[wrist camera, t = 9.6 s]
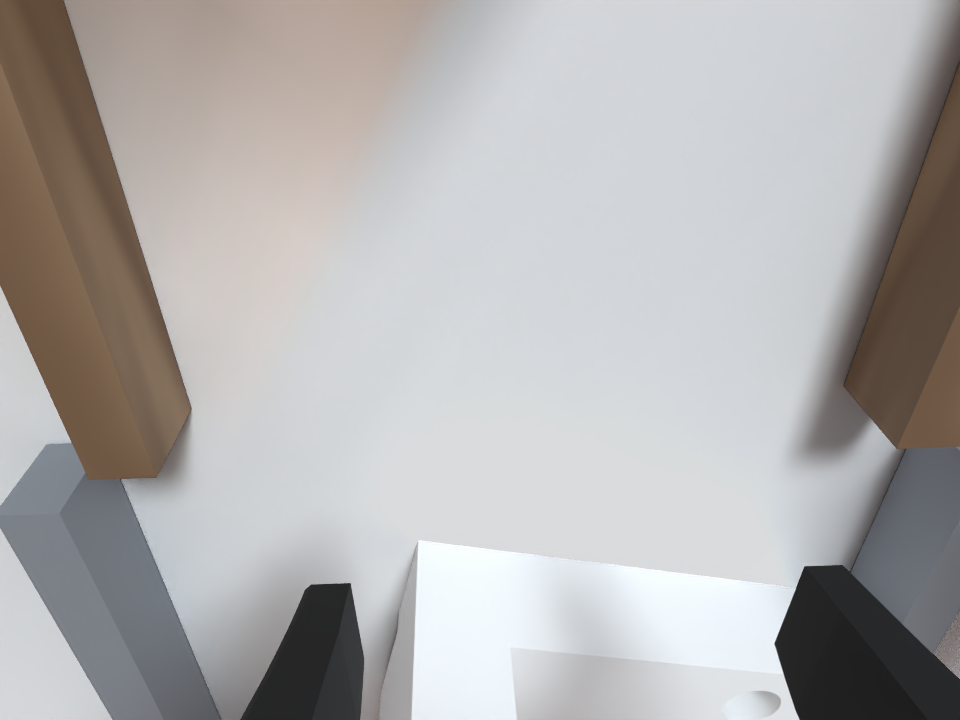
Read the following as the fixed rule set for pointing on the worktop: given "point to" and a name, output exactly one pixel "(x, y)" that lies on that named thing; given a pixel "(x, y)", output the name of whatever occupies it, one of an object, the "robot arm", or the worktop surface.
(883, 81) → the worktop surface
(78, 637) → the gray u-shaped frame
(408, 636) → the bracket
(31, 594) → the worktop surface
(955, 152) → the brown rectangular beams
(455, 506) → the worktop surface
